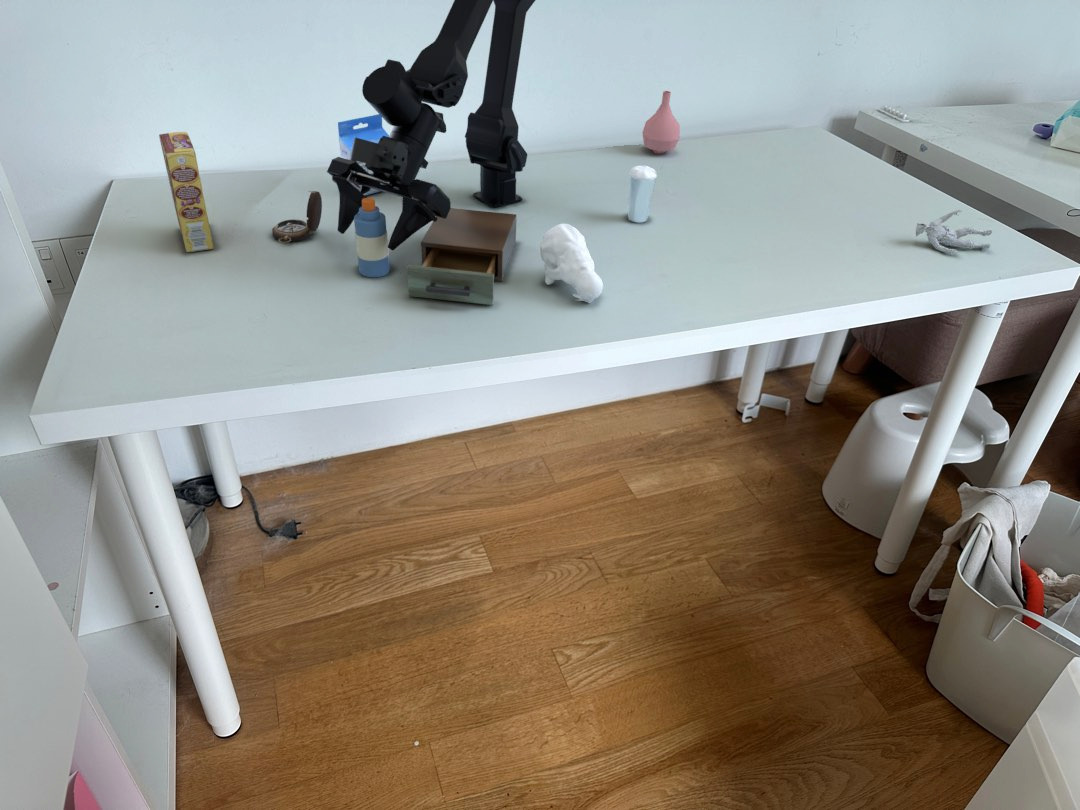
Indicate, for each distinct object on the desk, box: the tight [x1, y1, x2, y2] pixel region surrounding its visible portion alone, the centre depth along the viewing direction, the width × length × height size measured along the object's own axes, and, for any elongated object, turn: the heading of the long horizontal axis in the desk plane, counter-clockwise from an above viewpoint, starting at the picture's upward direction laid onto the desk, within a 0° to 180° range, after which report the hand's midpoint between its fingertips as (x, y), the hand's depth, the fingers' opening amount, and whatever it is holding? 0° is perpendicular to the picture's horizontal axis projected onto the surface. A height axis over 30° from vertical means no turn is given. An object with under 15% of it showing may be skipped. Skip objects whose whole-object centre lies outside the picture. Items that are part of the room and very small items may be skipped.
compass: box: [271, 190, 323, 244], centre depth 123 cm, size 8×8×7 cm
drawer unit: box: [420, 207, 517, 282], centre depth 121 cm, size 13×12×5 cm
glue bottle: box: [353, 197, 390, 278], centre depth 114 cm, size 4×4×11 cm
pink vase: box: [642, 90, 681, 155], centre depth 161 cm, size 8×8×12 cm
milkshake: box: [627, 164, 664, 224], centre depth 134 cm, size 4×5×10 cm
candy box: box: [158, 131, 214, 253], centre depth 118 cm, size 9×4×15 cm, turn 26°
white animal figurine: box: [539, 223, 604, 304], centre depth 113 cm, size 6×8×12 cm
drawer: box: [406, 248, 498, 306], centre depth 114 cm, size 15×12×4 cm
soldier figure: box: [915, 209, 993, 255], centre depth 132 cm, size 8×5×12 cm
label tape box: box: [337, 113, 390, 196], centre depth 138 cm, size 9×4×12 cm, turn 131°
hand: (364, 240), depth 113 cm, fingers open, 9 cm apart
